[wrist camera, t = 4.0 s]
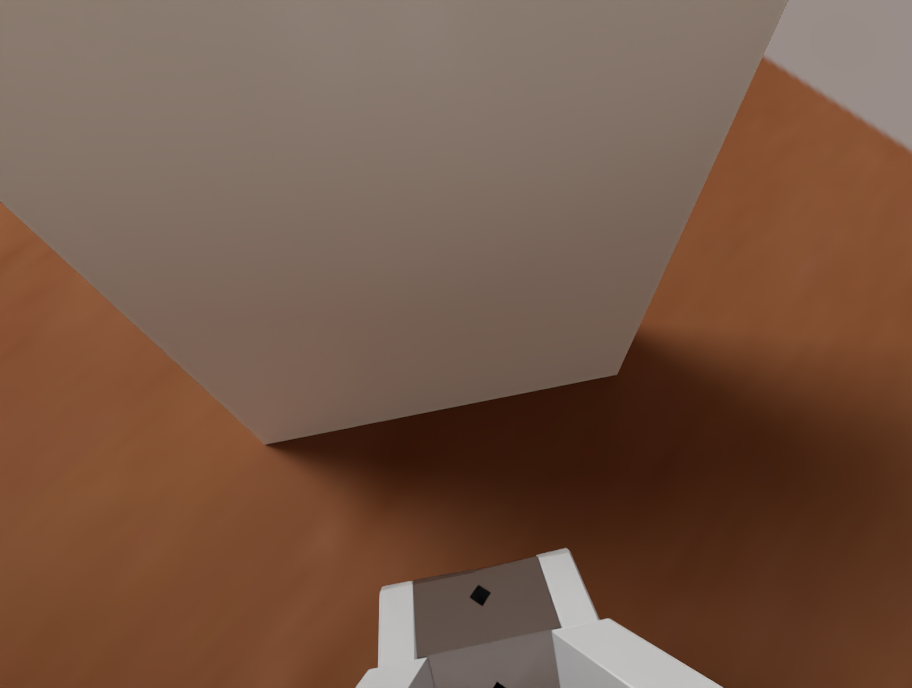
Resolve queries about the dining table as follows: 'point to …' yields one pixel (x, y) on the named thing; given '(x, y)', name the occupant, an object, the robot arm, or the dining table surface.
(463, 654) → the robot arm
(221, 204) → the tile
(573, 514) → the dining table surface
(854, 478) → the dining table surface
